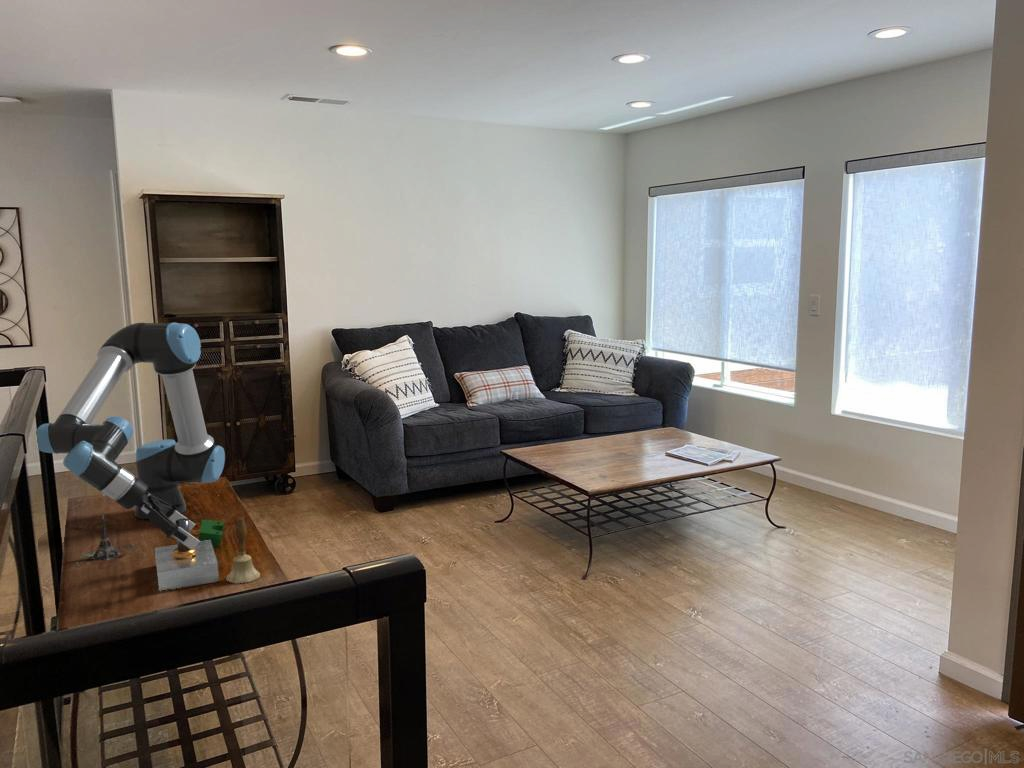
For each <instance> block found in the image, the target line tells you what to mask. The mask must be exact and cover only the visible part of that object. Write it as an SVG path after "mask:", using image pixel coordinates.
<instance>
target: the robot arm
mask: <svg viewBox="0 0 1024 768" xmlns="http://www.w3.org/2000/svg"><path fill="white" fill-rule="evenodd" d="M201 344H202V343H201V340H200V336H199V334H198V333H197V331H196V329H195V328H194V327H193V326H191V325H190V324H187V323H178V322H137V323H131V324H129V325H126V326H125V327H123V328H121V329H119V330H118V331H116V332H115V333H114V334H112V335H111V336H110V337H108V339H107V340H106V341H104V343H103V344H102V346H101V347H100V349H98V352H97V360H96V361H95V363H94V364H93V365H92V367H91V369H89V371H88V373H87V374H86V375H85V377H84V379H83V380H82V381H81V383H80V384H79V386H78V388H77V389H76V391H75V392H74V394H72V396H71V397H70V399H69V400H68V402H67V404H66V405H65V406H64V408H63V410H62V411H61V412H60V414H59V415H58V417H57V418H56V419H55V421H54V422H53V423H52V422H48V423H43V424H41V425H40V426H38V427H37V429H36V432H35V433H36V435H37V443H38V448H37V449H38V450H39V452H42V453H48V454H56V455H58V454H67V455H66V456H65V457H64V459H63V462H62V464H63V466H64V467H65V468H66V469H67V470H69V472H71V473H72V474H74V475H75V476H76V477H78V478H79V479H81V480H83V481H85V482H86V483H87V484H88V485H90V486H92V487H93V488H95V489H97V490H98V491H100V492H101V495H102V497H106V496H107V497H108V498H109V499H111V500H115V501H116V503H117V504H118V505H120V506H121V507H123V509H125V510H131V509H133V508H134V509H133V510H134V511H133V513H134V517H135V516H136V517H138V518H137V519H139V518H141V519H140V520H144V519H149V522H151V523H152V524H153V525H154V526H156V527H157V528H158V529H159V530H160V531H161V532H163V533H164V534H165V535H166V538H167V539H170V538H171V537H172V538H174V539H176V541H177V540H178V541H180V542H181V543H183V544H184V545H186V546H187V547H188V548H190V549H191V550H193V549H194V548H195V547H196V546H197V544H198V543H199V542H200V541H199V540H198V538H196V537H195V536H193V535H192V534H191V533H190V534H189V533H188V532H186V531H185V530H183V529H182V528H181V527H177V526H176V520H178V519H184V518H186V519H188V517H186V516H185V515H183V513H185V512H186V510H187V508H186V501H185V499H184V497H183V496H184V495H183V494H182V492H181V489H180V487H179V483H201V484H206V483H214V482H216V481H218V480H219V479H220V478H221V474H222V473H223V471H224V467H225V462H226V461H225V460H226V453H225V448H224V447H222V446H221V445H216V443H215V440H214V437H213V436H211V435H210V434H208V431H207V428H206V423H205V419H204V414H203V410H202V405H201V401H200V396H199V393H198V388H197V384H196V379H195V375H194V371H193V369H195V367H196V365H197V362H198V361H199V360H200V357H201V353H202V350H201V348H202V345H201ZM140 363H149V364H150V363H152V365H153V369H154V371H155V373H156V374H157V375H160V376H161V377H162V381H163V382H162V383H163V386H164V389H165V393H166V397H167V402H168V405H169V409H170V412H171V417H172V421H173V425H174V429H175V433H176V437H177V441H175V439H159V440H154V441H151V442H147V443H144V444H142V445H140V446H138V447H137V449H136V453H135V454H136V455H135V462H136V473H137V477H136V478H135V475H134V474H133V472H130V471H129V470H127V469H126V468H125V467H123V466H121V465H120V464H119V463H117V462H116V461H117V460H118V457H119V456H120V455H121V453H122V452H123V450H124V449H125V448H126V446H127V445H128V443H129V441H130V439H131V438H132V436H133V434H134V429H133V428H134V427H133V426H132V424H131V423H130V422H129V421H128V420H127V419H125V418H123V417H120V416H118V415H115V416H109V417H108V418H106V419H105V420H104V421H103V422H102V423H100V424H93V421H94V420H95V418H96V417H97V415H98V413H99V412H100V410H101V409H102V408H103V407H104V404H105V403H106V401H107V400H108V399H109V396H110V395H111V393H112V391H113V390H114V389H115V387H116V385H117V384H118V382H119V381H120V380H121V378H122V376H123V374H124V373H128V372H129V371H130V370H131V369H132V368H133V366H134V365H136V364H140ZM184 511H185V512H184ZM181 513H182V514H181ZM136 517H135V518H136ZM168 517H169V518H168ZM195 526H196V523H194V522H193V521H191V520H190V519H189V528H190V531H192V529H193V528H194V527H195Z"/></svg>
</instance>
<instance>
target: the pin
mask: <svg viewBox="0 0 1024 768" xmlns="http://www.w3.org/2000/svg"><path fill="white" fill-rule="evenodd" d="M186 518H187V517H186ZM186 518H184V519H178V520H176V524H175V525H176V526H177V527H181V528H182V529H183V530H185V531H186V532H188V533H189V534H191V532H190V531H191V530H190V528H189V520H190V519H189V518H187V519H186ZM176 545H177V548H176V549H174V550H173V558H174V559H178V560H179V559H188V558H192V557H194V556H195V555H196V548H194V549H193V550H191V549H190V548H188V547H187V546H186V545H184V544H183V543H181V542H180V541H178V540H177V539H176Z"/></svg>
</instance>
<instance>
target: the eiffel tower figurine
mask: <svg viewBox="0 0 1024 768" xmlns="http://www.w3.org/2000/svg"><path fill="white" fill-rule="evenodd" d="M100 518H101V536H100V537H101V538H100V543H99V545H98V546H97V549H96V550H94V551H91V552H86V553H85V554H83V555H81V556H80V558H81V559H88V558H91V559H92V560H99V561H109V560H111V559H113V558H115V557H118V555H121V554H122V552H120V551H119V550H117V548H116V547H115V546H114V544H112V543H111V541H110V538H109V536H108V533H107V532H108V531H107V528H106V521H105V515H104V514H103V512H102V515H101V516H100ZM133 546H134V547H135V544H128V545H123V546H119V547H120V548H119V549H121V548H123V549H124V548H125V547H126V548H125V549H130V548H134V547H133ZM112 551H113V552H112ZM98 555H99V556H98ZM102 555H103V556H102ZM80 566H81V563H80V562H76V567H80Z"/></svg>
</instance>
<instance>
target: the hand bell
mask: <svg viewBox="0 0 1024 768" xmlns="http://www.w3.org/2000/svg"><path fill="white" fill-rule="evenodd" d="M235 535H236V538H237V541H238V553H237V556H235V557H234V558H233V559H232V568H231V571H230V573H228V574H227V577H226V581H227V582H228V581H229V582H228V583H230V582H231V584H235V585H237V584H240V583H241V584H246V583H247V582H248V583H251V582H254V581H256V580H259V578H260V577H261V573H260V572H259V571H258V570H257V569H256V568H255V566H254V564H253V561H252V557H251V555H249V554H246V544H245V543H246V542H245V541H246V538H247V525H246V522H245V520H244V517H239V518H238V519H237V522H236V527H235ZM248 583H247V584H248Z"/></svg>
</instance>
